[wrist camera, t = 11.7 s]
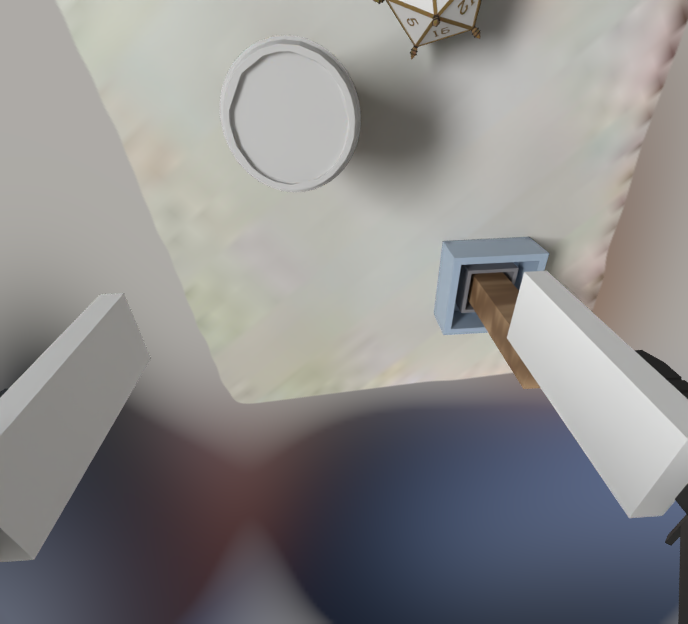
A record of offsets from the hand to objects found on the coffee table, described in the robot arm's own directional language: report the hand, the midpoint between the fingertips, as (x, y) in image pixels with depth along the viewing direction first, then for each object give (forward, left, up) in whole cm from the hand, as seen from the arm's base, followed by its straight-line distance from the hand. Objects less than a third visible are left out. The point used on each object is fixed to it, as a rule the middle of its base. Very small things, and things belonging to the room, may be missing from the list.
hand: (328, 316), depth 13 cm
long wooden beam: (+15, +18, -28) cm, 36 cm away
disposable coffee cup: (-4, -2, -29) cm, 29 cm away
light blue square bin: (+15, +18, -29) cm, 37 cm away
